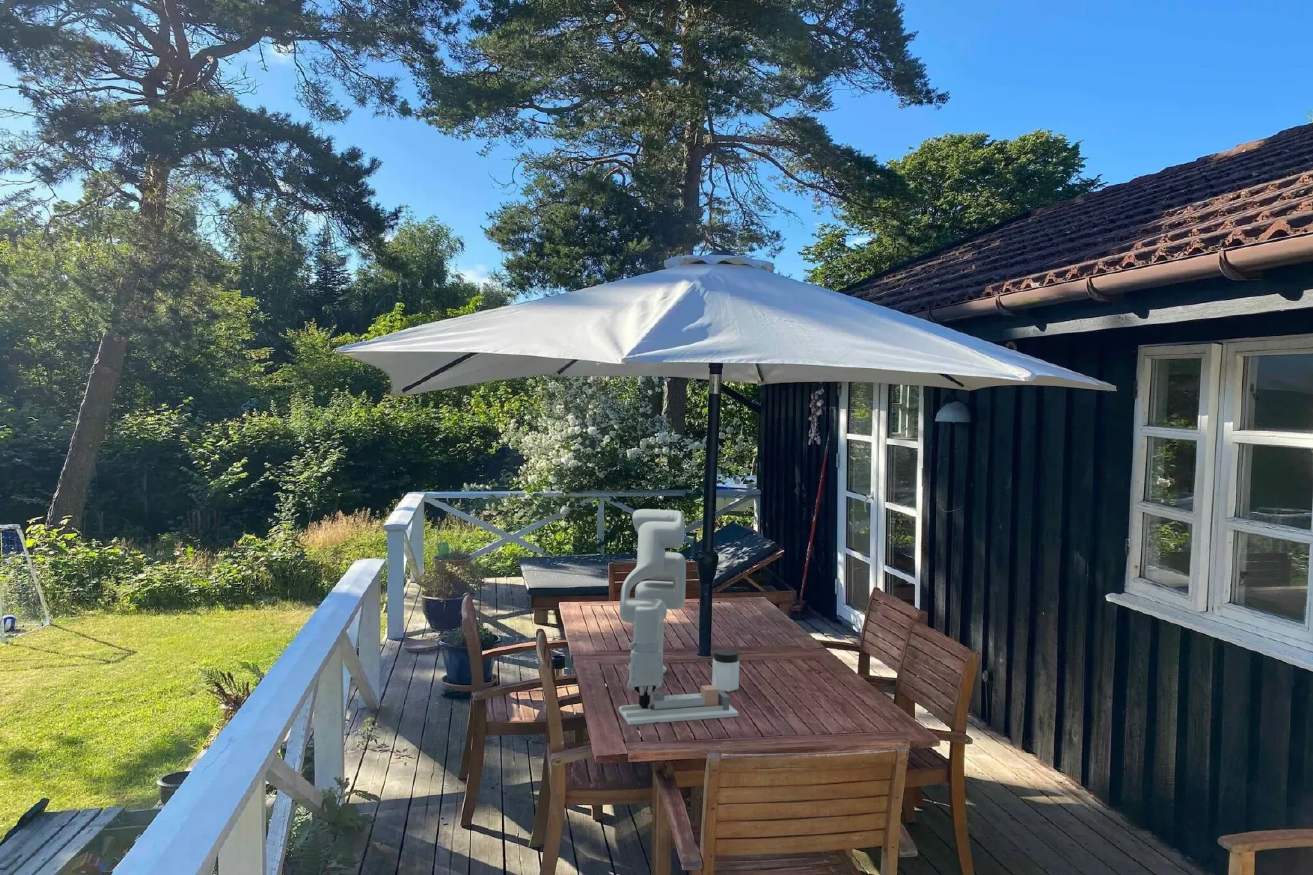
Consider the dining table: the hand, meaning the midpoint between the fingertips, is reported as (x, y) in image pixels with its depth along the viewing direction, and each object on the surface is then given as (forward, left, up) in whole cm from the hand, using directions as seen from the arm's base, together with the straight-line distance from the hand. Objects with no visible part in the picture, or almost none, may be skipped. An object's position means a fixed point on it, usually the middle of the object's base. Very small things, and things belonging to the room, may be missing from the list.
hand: (644, 707), depth 256 cm
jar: (-20, +34, -3) cm, 39 cm away
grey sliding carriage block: (0, +11, -1) cm, 11 cm away
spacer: (0, +21, -2) cm, 21 cm away
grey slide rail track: (0, +11, -3) cm, 11 cm away
